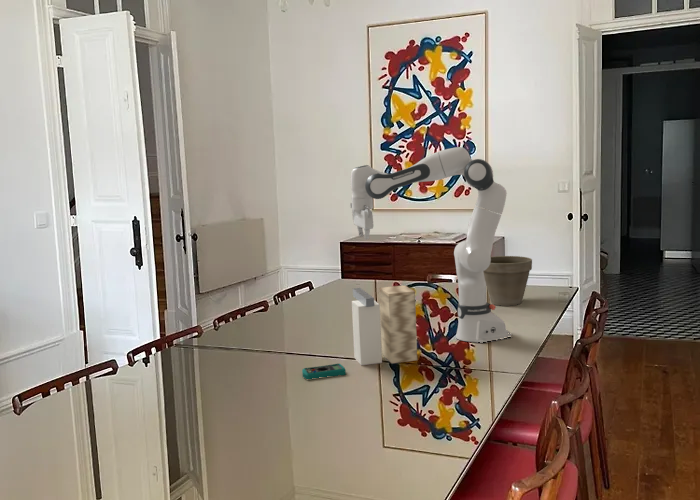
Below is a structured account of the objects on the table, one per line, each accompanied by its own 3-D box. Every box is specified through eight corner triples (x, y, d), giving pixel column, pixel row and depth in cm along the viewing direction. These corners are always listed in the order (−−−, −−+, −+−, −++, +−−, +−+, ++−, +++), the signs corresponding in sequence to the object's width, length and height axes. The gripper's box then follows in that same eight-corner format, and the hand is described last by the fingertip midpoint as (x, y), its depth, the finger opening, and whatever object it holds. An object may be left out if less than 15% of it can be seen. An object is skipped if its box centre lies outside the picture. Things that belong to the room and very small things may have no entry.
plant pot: (493, 295, 359) (492, 253, 355) (540, 299, 344) (539, 256, 341) (471, 305, 339) (470, 261, 335) (520, 310, 324) (519, 264, 321)
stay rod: (360, 295, 271) (360, 287, 270) (374, 306, 251) (374, 298, 251) (352, 296, 270) (352, 288, 270) (366, 307, 251) (365, 298, 250)
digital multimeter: (300, 375, 249) (300, 367, 248) (341, 369, 253) (340, 362, 252) (305, 382, 242) (304, 373, 241) (346, 376, 246) (346, 368, 245)
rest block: (374, 355, 267) (372, 298, 264) (382, 362, 257) (379, 304, 254) (354, 357, 265) (351, 300, 262) (361, 365, 255) (358, 306, 252)
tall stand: (407, 351, 270) (404, 285, 266) (417, 360, 258) (414, 291, 254) (382, 354, 267) (379, 287, 264) (391, 363, 256) (388, 293, 252)
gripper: (376, 206, 282) (377, 240, 284) (363, 202, 301) (365, 234, 303) (361, 207, 280) (362, 241, 282) (349, 203, 300) (350, 235, 302)
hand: (363, 237), depth 293 cm, fingers open, 8 cm apart
